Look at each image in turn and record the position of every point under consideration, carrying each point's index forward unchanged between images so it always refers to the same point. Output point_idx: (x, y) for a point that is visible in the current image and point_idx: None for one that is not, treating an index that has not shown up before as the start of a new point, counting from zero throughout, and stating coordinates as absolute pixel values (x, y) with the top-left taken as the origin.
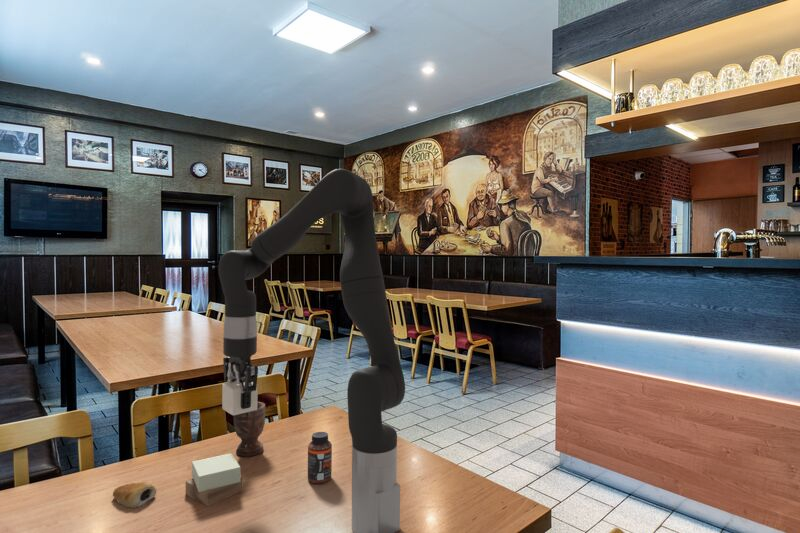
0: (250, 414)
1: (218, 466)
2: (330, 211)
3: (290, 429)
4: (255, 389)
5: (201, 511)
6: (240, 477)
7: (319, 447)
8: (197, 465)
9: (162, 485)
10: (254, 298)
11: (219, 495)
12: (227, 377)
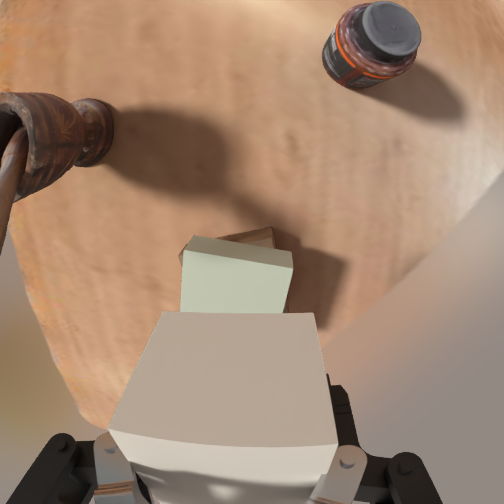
0: (43, 159)
1: (249, 306)
2: None
3: (42, 15)
4: (417, 461)
5: None
6: (269, 242)
7: (411, 60)
8: None
9: (150, 329)
10: None
11: None
12: (93, 487)
